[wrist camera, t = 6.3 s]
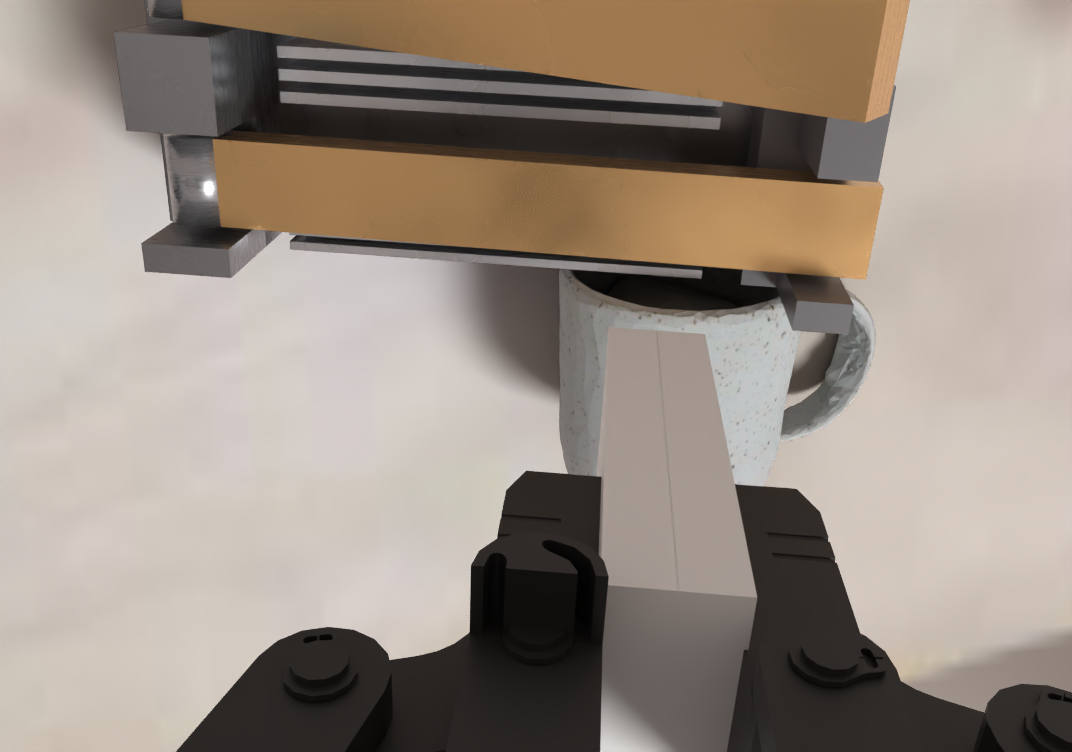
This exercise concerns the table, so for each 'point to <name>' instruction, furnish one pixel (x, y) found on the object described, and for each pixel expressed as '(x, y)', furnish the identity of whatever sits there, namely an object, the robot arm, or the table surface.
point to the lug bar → (830, 156)
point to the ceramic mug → (734, 348)
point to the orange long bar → (525, 201)
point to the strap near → (621, 42)
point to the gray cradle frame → (394, 125)
